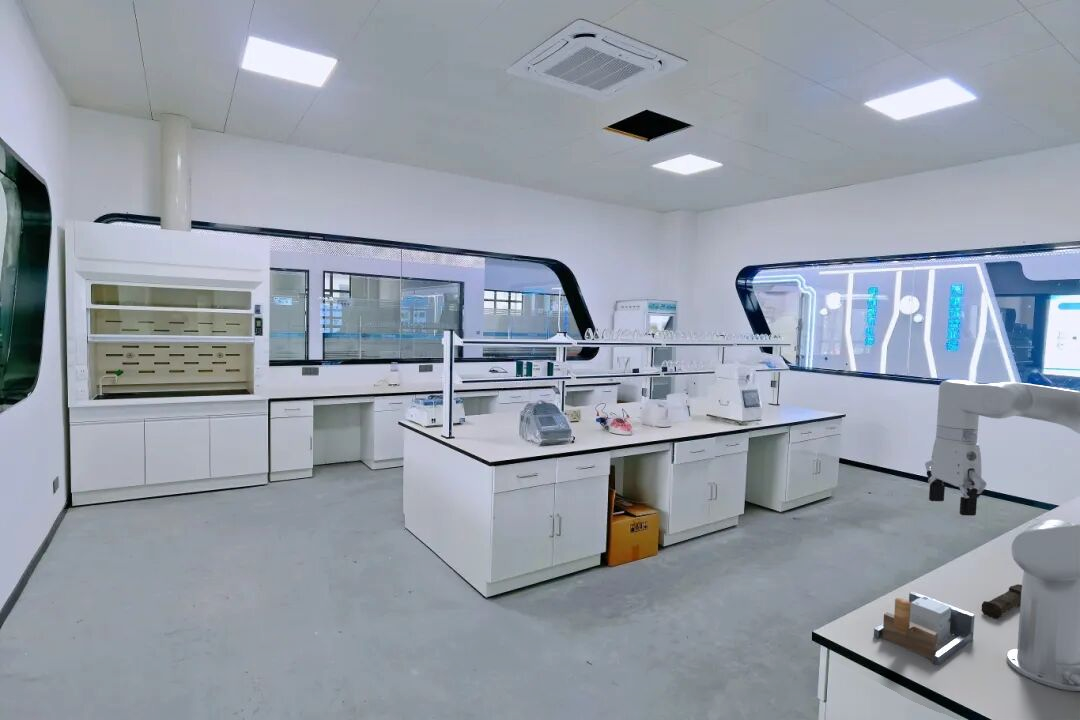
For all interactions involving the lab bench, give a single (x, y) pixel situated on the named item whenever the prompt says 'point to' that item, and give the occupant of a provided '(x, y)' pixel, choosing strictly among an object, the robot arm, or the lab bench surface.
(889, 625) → the sliding jaw
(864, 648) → the lab bench surface
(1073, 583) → the robot arm
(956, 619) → the clamp frame
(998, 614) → the hand tool
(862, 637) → the lab bench surface
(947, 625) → the skincare box
